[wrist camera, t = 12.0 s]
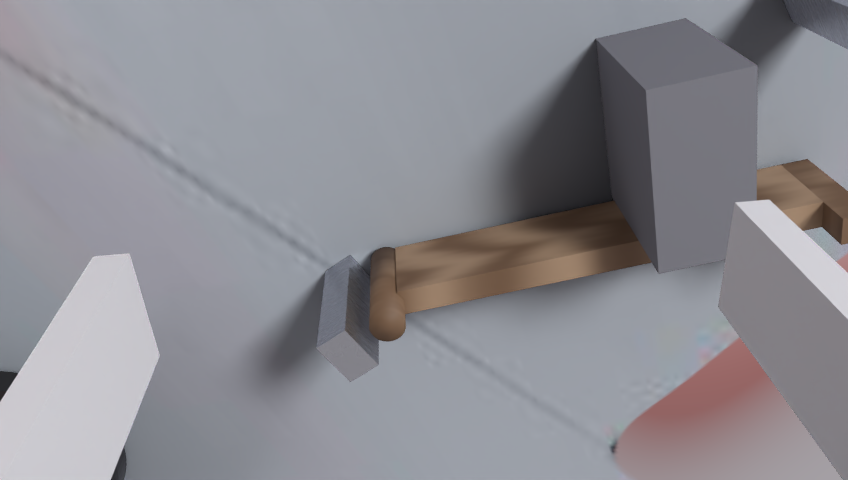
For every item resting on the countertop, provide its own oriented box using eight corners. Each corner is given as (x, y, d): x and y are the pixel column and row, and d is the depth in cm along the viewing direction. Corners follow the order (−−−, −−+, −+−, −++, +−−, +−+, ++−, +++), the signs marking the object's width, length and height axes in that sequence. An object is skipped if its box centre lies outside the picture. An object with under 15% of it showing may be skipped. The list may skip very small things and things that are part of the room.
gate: (377, 284, 48) (376, 352, 42) (367, 250, 47) (365, 315, 40) (805, 193, 46) (870, 250, 40) (807, 156, 45) (874, 209, 39)
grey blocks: (354, 301, 49) (350, 382, 42) (325, 271, 48) (316, 348, 41) (826, -1, 41) (918, 37, 34) (807, -48, 39) (898, -19, 32)
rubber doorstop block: (611, 196, 46) (658, 273, 38) (595, 38, 41) (645, 90, 33) (692, 179, 46) (756, 253, 38) (685, 18, 41) (757, 65, 33)
